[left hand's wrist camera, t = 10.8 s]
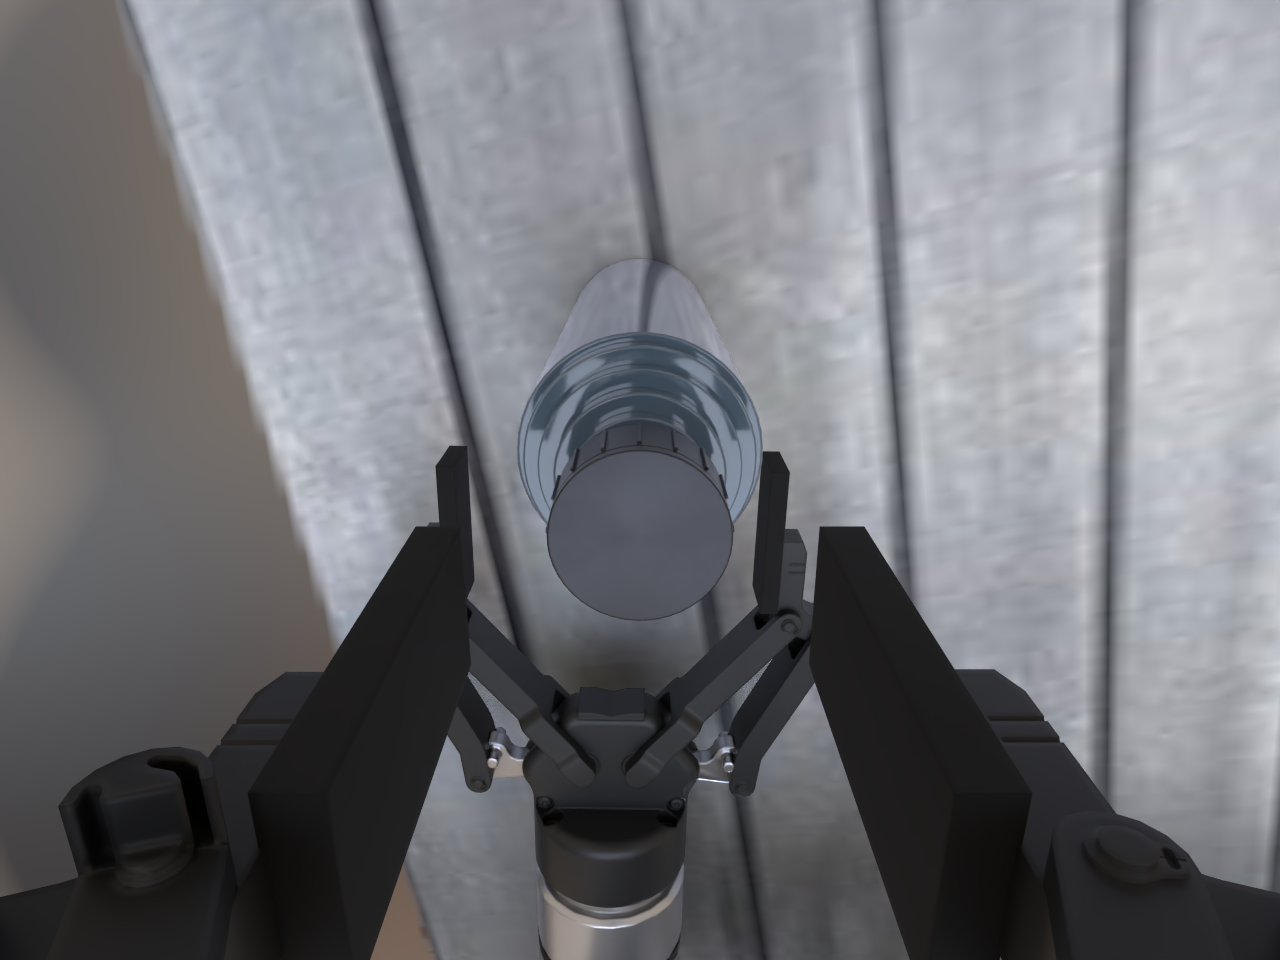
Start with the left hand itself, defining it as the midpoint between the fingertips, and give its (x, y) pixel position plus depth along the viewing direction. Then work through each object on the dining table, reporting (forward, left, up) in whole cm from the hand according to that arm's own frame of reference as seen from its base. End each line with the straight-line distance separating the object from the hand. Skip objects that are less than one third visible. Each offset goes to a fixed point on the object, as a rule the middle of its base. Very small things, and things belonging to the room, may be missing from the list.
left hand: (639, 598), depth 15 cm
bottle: (0, 0, -27) cm, 27 cm away
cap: (0, 0, -3) cm, 3 cm away
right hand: (+4, +1, -21) cm, 21 cm away
